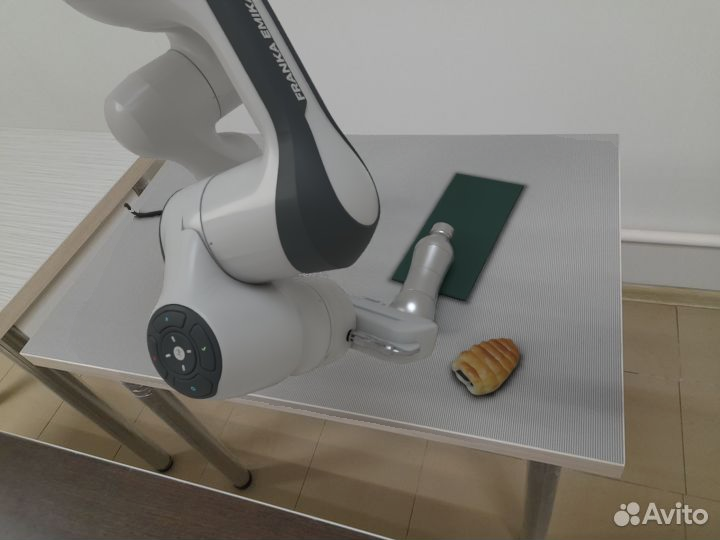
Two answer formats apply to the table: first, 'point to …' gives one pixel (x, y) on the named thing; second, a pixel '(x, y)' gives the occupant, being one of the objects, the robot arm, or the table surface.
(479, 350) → the pastry
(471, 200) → the mat
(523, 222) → the table surface
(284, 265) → the robot arm
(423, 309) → the plastic bottle
